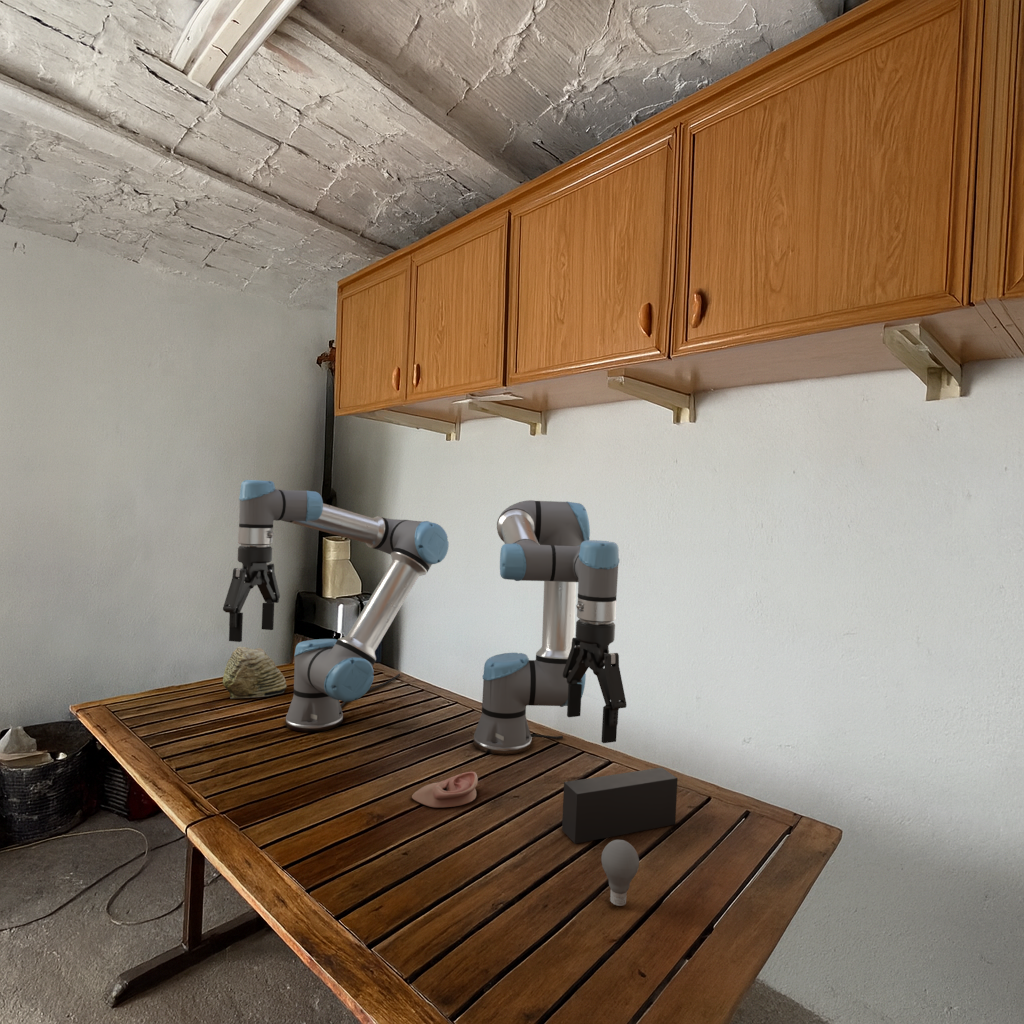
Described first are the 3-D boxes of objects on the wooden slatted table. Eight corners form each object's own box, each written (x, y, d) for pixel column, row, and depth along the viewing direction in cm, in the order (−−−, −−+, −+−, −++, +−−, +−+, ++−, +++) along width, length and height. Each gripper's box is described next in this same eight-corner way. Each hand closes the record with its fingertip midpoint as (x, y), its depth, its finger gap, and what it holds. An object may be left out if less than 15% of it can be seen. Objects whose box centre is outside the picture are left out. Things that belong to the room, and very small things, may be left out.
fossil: (218, 695, 195) (220, 647, 195) (278, 685, 208) (279, 640, 207) (228, 703, 189) (230, 653, 188) (289, 692, 201) (290, 645, 201)
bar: (659, 812, 134) (661, 767, 133) (675, 824, 129) (677, 778, 128) (561, 830, 125) (563, 782, 124) (574, 844, 120) (577, 794, 119)
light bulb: (595, 892, 105) (598, 832, 105) (631, 891, 105) (634, 832, 105) (604, 915, 99) (607, 852, 99) (641, 915, 99) (644, 852, 99)
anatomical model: (407, 784, 132) (425, 763, 143) (406, 803, 132) (424, 780, 143) (468, 793, 129) (482, 770, 140) (467, 812, 129) (481, 788, 141)
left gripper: (239, 550, 136) (236, 648, 137) (296, 543, 161) (292, 626, 161) (207, 548, 138) (204, 645, 138) (268, 541, 162) (265, 624, 163)
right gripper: (549, 608, 133) (545, 708, 134) (613, 636, 110) (607, 756, 111) (581, 607, 136) (576, 705, 137) (649, 634, 113) (643, 751, 114)
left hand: (252, 635), depth 150 cm, fingers open, 13 cm apart
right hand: (590, 728), depth 124 cm, fingers open, 13 cm apart
